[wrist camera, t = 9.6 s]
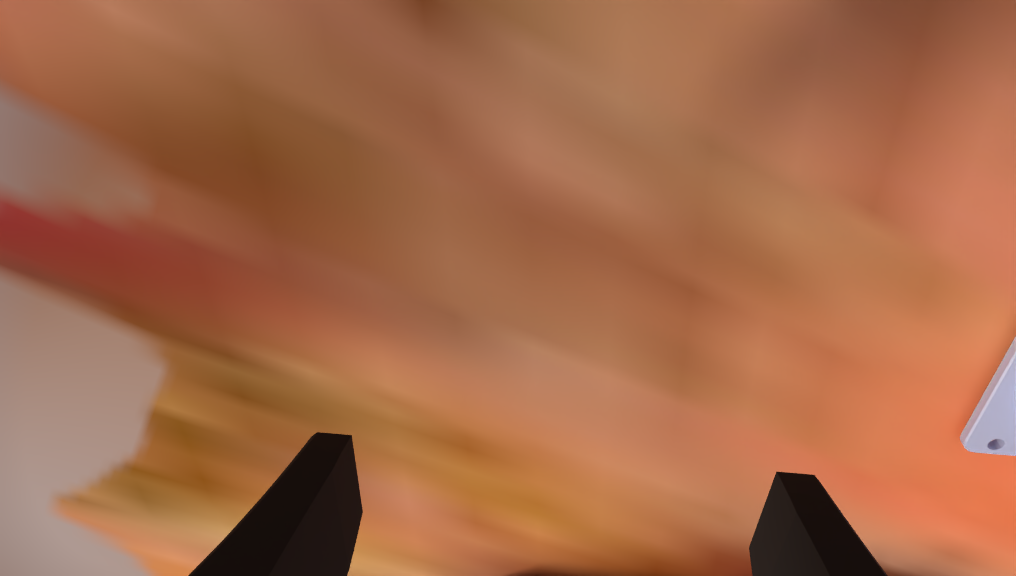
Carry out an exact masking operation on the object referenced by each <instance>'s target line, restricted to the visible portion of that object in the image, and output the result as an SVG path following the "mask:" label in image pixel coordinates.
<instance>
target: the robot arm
mask: <svg viewBox="0 0 1016 576" xmlns="http://www.w3.org/2000/svg"><path fill="white" fill-rule="evenodd" d="M994 439H995V440H994ZM960 440H961V442H962V444H963V446H964V447H965V449H967V450H968V451H971V452H976V453H988V454H1000V455H1012V456H1016V337H1015V338H1014V340H1013V342H1012V344H1011V346H1010V347H1009V349H1008V351H1007V353H1006V354H1005V356H1004V358H1003V360H1002V362H1001V363H1000V365H999V367H998V369H997V371H996V372H995V374H994V376H993V378H992V380H991V381H990V383H989V385H988V387H987V388H986V390H985V392H984V394H983V396H982V397H981V399H980V401H979V403H978V405H977V406H976V408H975V410H974V412H973V414H972V415H971V417H970V419H969V421H968V422H967V424H966V426H965V428H964V430H963V431H962V433H961V436H960ZM992 440H993V441H992ZM362 512H363V511H362V504H361V497H360V490H359V483H358V476H357V469H356V462H355V456H354V449H353V442H352V435H342V434H331V433H319V432H317V433H316V434H314V435H313V436H312V437H311V438H310V439H309V440H308V442H307V443H306V444H305V445H304V447H303V448H302V449H301V451H300V452H299V453H298V454H297V455H296V457H295V458H294V459H293V460H292V462H291V463H290V464H289V465H288V467H287V468H286V469H285V470H284V471H283V473H282V474H281V475H280V476H279V477H278V479H277V480H276V481H275V482H274V483H273V485H272V486H271V487H270V488H269V489H268V490H267V492H266V493H265V494H264V495H263V496H262V497H261V499H260V500H259V501H258V502H257V503H256V504H255V505H254V506H253V508H252V509H251V510H250V511H249V512H248V513H247V514H246V515H245V517H244V518H243V519H242V520H241V521H240V522H239V523H238V524H237V525H236V527H235V528H234V529H233V530H232V531H231V532H230V533H229V534H228V535H227V536H226V538H225V539H224V540H223V541H222V542H221V543H220V544H219V545H218V546H217V547H216V548H215V549H214V550H213V551H212V552H211V553H210V554H209V555H208V556H207V557H206V558H205V559H204V560H203V561H202V562H201V563H200V564H199V565H198V566H197V567H196V568H195V569H194V570H193V571H192V572H191V573H190V575H189V576H347V574H348V571H349V568H350V563H351V559H352V555H353V551H354V547H355V543H356V539H357V534H358V530H359V526H360V521H361V517H362ZM749 550H750V558H751V567H752V575H753V576H887V574H886V573H885V572H884V570H883V569H882V568H881V566H880V565H879V564H878V562H877V561H876V560H875V558H874V557H873V556H872V554H871V553H870V552H869V550H868V549H867V548H866V546H865V545H864V543H863V542H862V541H861V539H860V538H859V536H858V535H857V534H856V532H855V531H854V530H853V528H852V527H851V525H850V524H849V523H848V521H847V520H846V518H845V517H844V516H843V514H842V513H841V511H840V510H839V508H838V507H837V506H836V504H835V503H834V501H833V500H832V498H831V497H830V496H829V494H828V493H827V491H826V490H825V489H824V487H823V486H822V484H821V483H820V481H819V480H818V479H817V478H816V477H815V475H809V474H797V473H785V472H776V475H775V478H774V480H773V483H772V486H771V489H770V491H769V494H768V497H767V500H766V502H765V505H764V508H763V511H762V513H761V516H760V519H759V522H758V524H757V527H756V530H755V533H754V536H753V538H752V541H751V544H750V547H749Z"/></svg>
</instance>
